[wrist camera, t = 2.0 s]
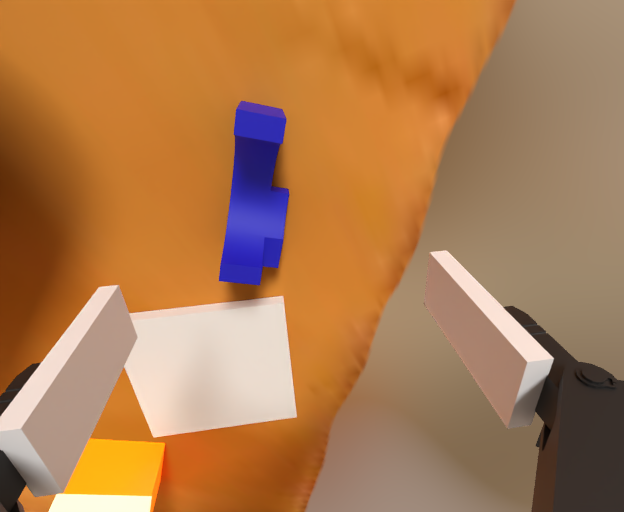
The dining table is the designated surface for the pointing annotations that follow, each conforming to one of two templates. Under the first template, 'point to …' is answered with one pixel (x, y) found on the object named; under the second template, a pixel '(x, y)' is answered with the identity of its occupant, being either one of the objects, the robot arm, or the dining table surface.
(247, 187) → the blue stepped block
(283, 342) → the white pad
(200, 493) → the dining table surface
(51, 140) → the dining table surface
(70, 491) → the orange juice
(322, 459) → the dining table surface
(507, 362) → the robot arm
